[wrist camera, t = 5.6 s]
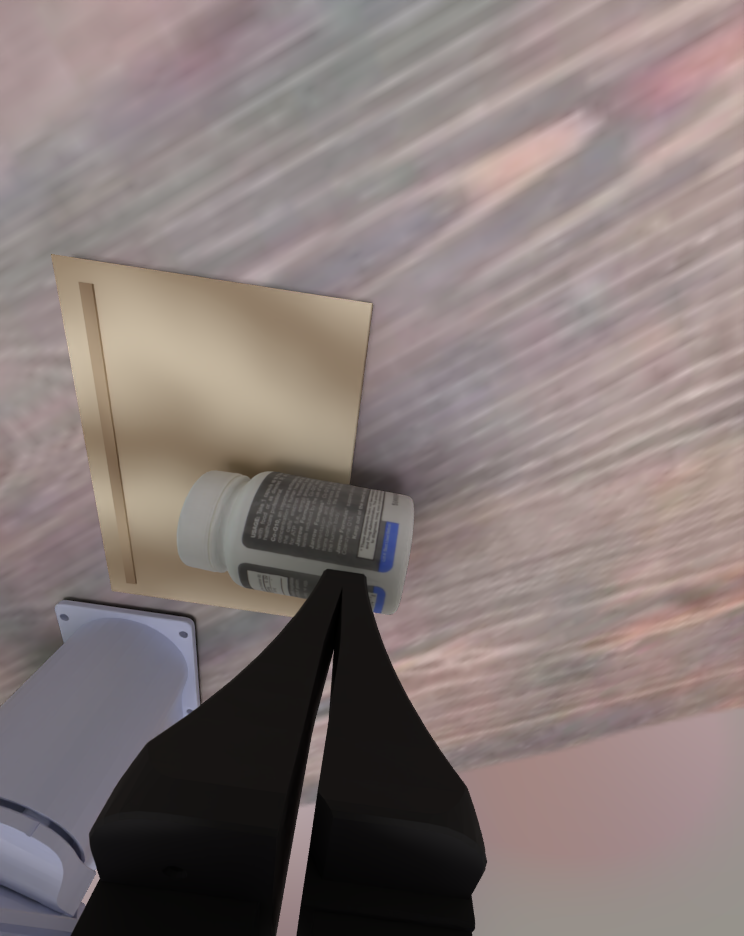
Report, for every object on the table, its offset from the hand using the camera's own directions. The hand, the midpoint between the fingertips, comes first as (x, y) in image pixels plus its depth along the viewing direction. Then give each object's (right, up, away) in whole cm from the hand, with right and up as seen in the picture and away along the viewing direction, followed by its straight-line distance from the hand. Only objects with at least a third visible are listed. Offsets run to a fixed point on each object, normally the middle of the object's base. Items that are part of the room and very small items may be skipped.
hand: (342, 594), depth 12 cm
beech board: (-6, +4, +5) cm, 9 cm away
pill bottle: (+3, +1, +3) cm, 4 cm away
